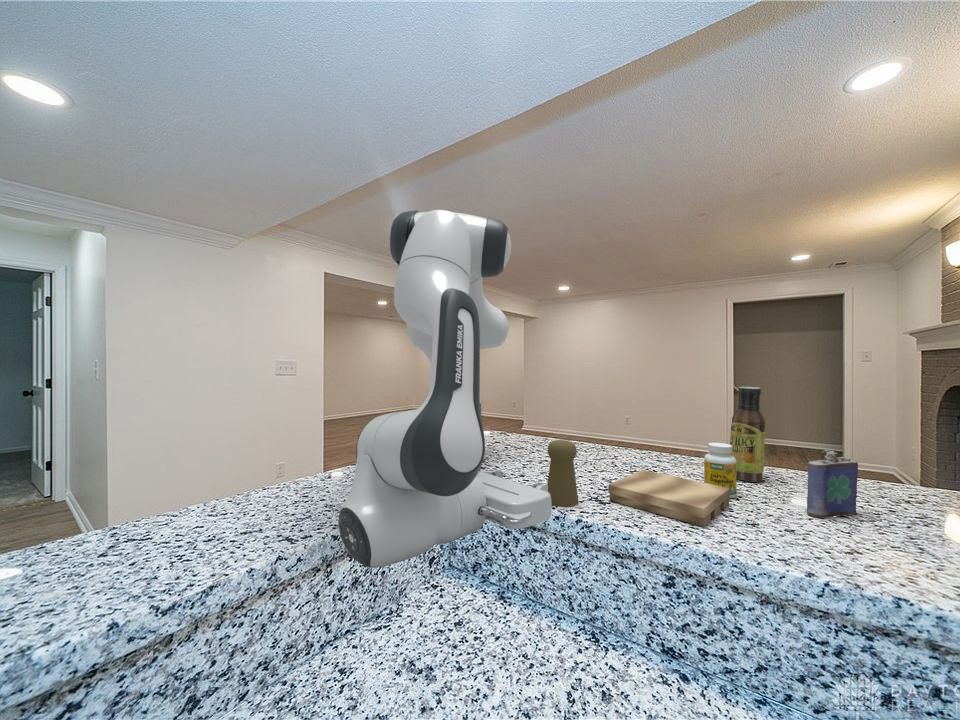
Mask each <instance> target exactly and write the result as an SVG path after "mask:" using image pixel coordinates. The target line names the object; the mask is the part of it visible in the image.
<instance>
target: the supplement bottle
mask: <svg viewBox="0 0 960 720" xmlns="http://www.w3.org/2000/svg"><path fill="white" fill-rule="evenodd" d="M707 450H708V453H706V454H705V455H704V457H703V464H704V468H703V471H704V472H703V473H704V474H703V475H704V477H703V483H707V484H712V485H717V486H722V487H727V488H730V497H729V499H734V498H735V497H736V496H737V479H736V459H735V458H734V457H733V456H731V454H732V445H730V443H729V444H728V443H723V442H709V443H708V444H707Z"/></svg>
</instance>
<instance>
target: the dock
mask: <svg viewBox="0 0 960 720" xmlns="http://www.w3.org/2000/svg"><path fill="white" fill-rule="evenodd" d="M607 487H608V488H607V489H608V494H609V501H610V500H612V501H611V502H614V501H615V502H614V503H617V502H618V504H621V505H625V506H629V507H632V508H636V509H639V510H642V511H645V512H649V513H653V514H656V515H661V516H664V517H668V518H671V519H674V520H678V521H681V522H682V521H683V522H685V523H688V524H692V525H696V526H699V527H702V526H703V528H705V527H706V526H708V525H709V524H710V523H711V521H712V518H713V519H715V518H717V517H718V516H719V515H720V514H721V510H723V511H724V510H726V509H727V508H729V506H730V498H729V497H730V488H727V487H722V486H717V485H712V484H707V483H704V481H703V482H702V481H697V480H692V479H687V478H684V477H680V476H673V475H668V474H663V473H660V472H655V471H649V470H645V469H641V470H639V471H638V470H637V471H636V472H633V473H631V474H630V475H626V476H625V477H623V478H620V479H619V480H616V481H613V482H612V483H610V484H608V486H607Z"/></svg>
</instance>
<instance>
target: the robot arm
mask: <svg viewBox="0 0 960 720" xmlns="http://www.w3.org/2000/svg"><path fill="white" fill-rule="evenodd" d="M509 233H510V232H509V227H508V226H507V225H506V224H505V222H504V221H501V220H499V219H497V218H493V217H490V216H488V217H487V218H486V217H481V216H477V215H473V214H467V213H461V212H453V211H450V210H445V209H434V210H430V211H423V212H420V211H419V210H408V211H403V212H401V213H399V214H398V215H397V216H396V217H395V218H394V219H393V221H392V224H391V228H390V230H389V236H388V237H389V239H388V244H389V245H388V246H389V248H390V251H389V252H390V255H391V258H392V259H393V261H394V262H395V263H396V264H397V265H398V268H397V273H396V277H395V281H394V282H395V283H394V288H393V305H394V307H395V310H396V311H397V314H398V315H399V316H400V318H401V319H402V321H404V322H405V323H406V332H407V336H408V339H410V341H411V343H412V344H413V345H414V346H415V347H417V348H418V349H419V350H420V351H422V352H423V353H424V355H425V356H426V357H427V358H428V359H427V360H428V361H429V362H430V364H431V365H430V377H429V387H428V394H427V397H426V399H425V400H424V401H423V403H422V404H421V405H420V406H419V407H418V408H417V409H415V408H414V409H411V410H405V411H404V410H400V411H395V412H388V413H383V414H379V415H377V416H374V418H372V419H370V420H369V421H368V422H367V423H366V424H365V425H364V426H363V428H362V429H361V431H360V432H359V435H358V437H357V441H356V445H355V446H356V447H355V455H356V466H355V470H354V471H355V472H354V476H353V481H352V485H351V487H350V491H349V493H348V495H347V498H346V500H345V501H344V503H343V504H342V506H341V507H340V509H339V513H338V531H339V535H340V538H341V540H342V543H343V546H344V547H345V549H346V550H347V552H348V554H349V556H351V558H352V559H353V560H354V561H355V562H357V563H359V564H360V565H363V566H364V567H367V568H370V569H371V568H372V569H375V568H377V569H378V568H384V567H387V566H392V565H396V564H398V563H401V562H404V561H407V560H410V559H412V558H415V557H417V556H420V555H422V554H423V555H424V554H426V553H427V552H428V551H429V550H430V549H433V547H434V546H436V545H440V544H441V545H444V544H448V543H451V542H452V543H453V541H457V540H460V539H462V538H464V537H466V536H468V535H472V534H473V533H475V532H478V531H479V530H480V529H482V527H483V526H484V524H485V522H486V520H487V521H490V522H493V523H494V524H497V525H499V526H501V527H503V528H507V529H512V530H522V529H526V528H529V527H530V528H531V527H533V526H536V525H539V524H542V523H544V522H547V521H549V520H550V518H551V515H552V508H553V507H552V506H553V505H552V503H551V496H550V493H549V492H548V485H547V484H546V483H542V482H537V483H534V484H533V487H532V486H530V485H526V484H523V483H520V482H516V481H513V480H509V479H506V478H503V475H504V472H503V471H501V470H498V469H494V470H482V471H481V468H482V466H483V463H484V460H485V459H486V458H487V457H486V439H485V431H484V426H483V421H482V403H481V401H480V399H481V396H480V395H481V393H480V391H481V390H480V387H481V386H480V385H481V383H480V379H481V378H480V377H481V375H480V374H481V372H480V371H481V368H480V367H481V366H480V365H481V361H480V360H481V350H487V349H492V348H496V347H501V346H502V345H503V344H504V343H505V341H506V339H507V337H508V335H509V328H510V326H509V321H508V318H507V316H506V315H505V313H504V312H503V311H502V310H501V309H499V308H497V307H496V306H494V305H493V304H492V303H490V302H489V300H488V299H487V298H486V295H485V294H484V289H483V288H484V287H483V278H493V277H498V276H499V275H500V274H502V273H503V271H504V269H505V267H506V266H507V264H508V262H509V260H510V257H511V253H512V240H511V236H510V234H509Z"/></svg>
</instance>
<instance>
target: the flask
mask: <svg viewBox="0 0 960 720" xmlns="http://www.w3.org/2000/svg"><path fill="white" fill-rule="evenodd" d="M824 452H825V453H826V454H825V455H824V459H820V460H812V461H811V460H810V461H809V462H807V499H806V514H807V515H808V516H811V517H813V518H815V519H816V518H821V519H828V518H834V517H833V516H839V517H840V516H843V515H845V516H852V515H853V516H855V515H854V514H856V515H857V507H856V506H857V495H858V489H857V487H858V471H859V465H858V464H859V463H858V461H855V460H852V459H851V458H848V457H847V458H846V457H844V456H840V457H837V456H836V455H838V452H835V451H834V450H831V449H824V450H822V453H824ZM843 517H844V516H843Z"/></svg>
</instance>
